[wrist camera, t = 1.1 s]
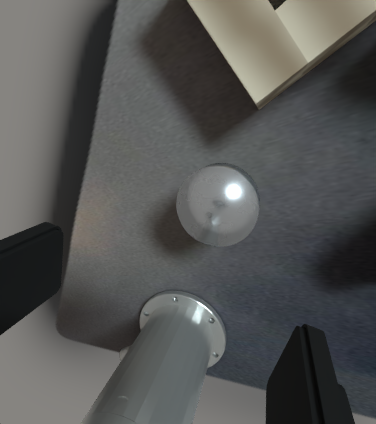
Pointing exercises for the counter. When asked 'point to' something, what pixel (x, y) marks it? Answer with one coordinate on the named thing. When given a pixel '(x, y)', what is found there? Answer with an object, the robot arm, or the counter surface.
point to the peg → (218, 204)
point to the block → (280, 37)
